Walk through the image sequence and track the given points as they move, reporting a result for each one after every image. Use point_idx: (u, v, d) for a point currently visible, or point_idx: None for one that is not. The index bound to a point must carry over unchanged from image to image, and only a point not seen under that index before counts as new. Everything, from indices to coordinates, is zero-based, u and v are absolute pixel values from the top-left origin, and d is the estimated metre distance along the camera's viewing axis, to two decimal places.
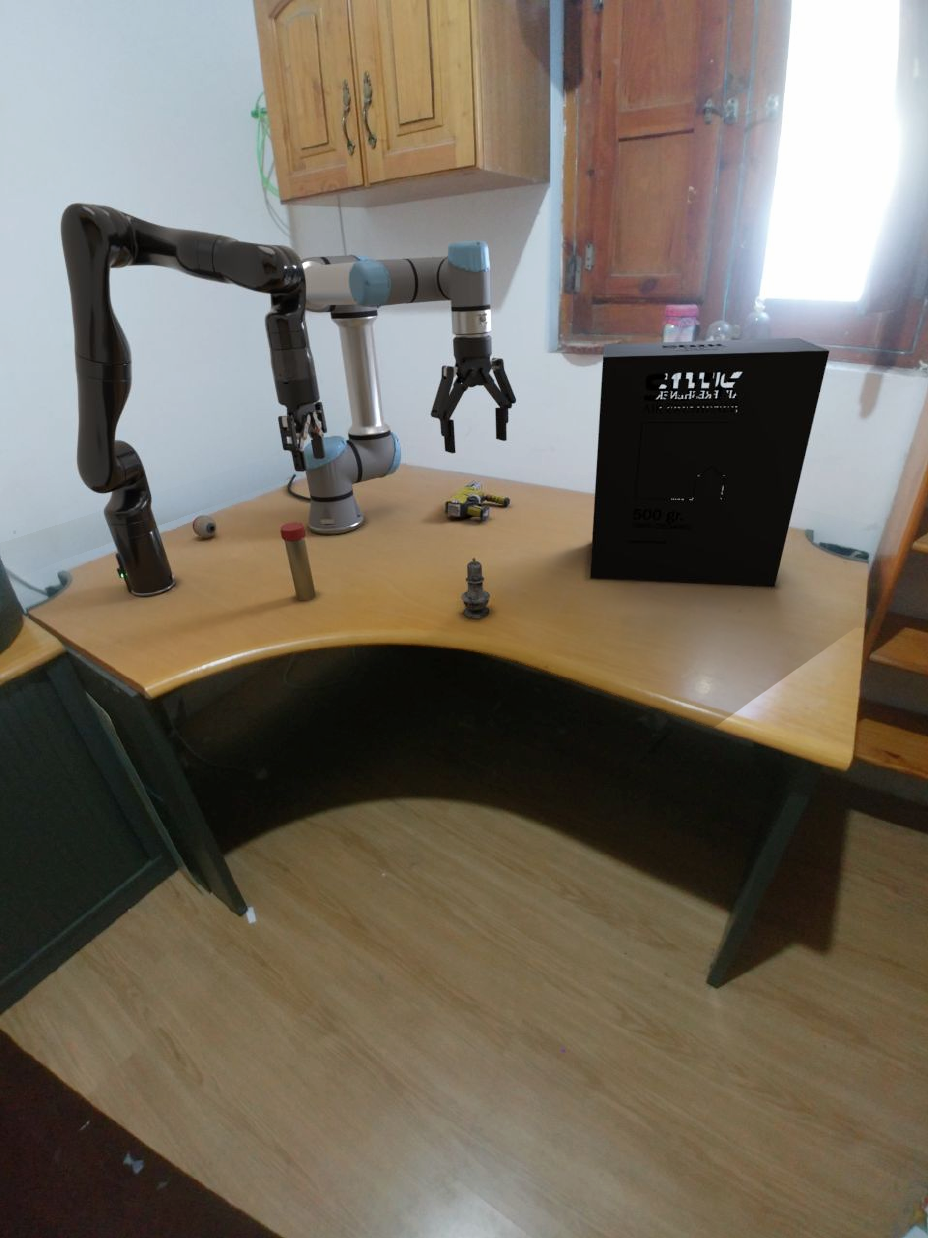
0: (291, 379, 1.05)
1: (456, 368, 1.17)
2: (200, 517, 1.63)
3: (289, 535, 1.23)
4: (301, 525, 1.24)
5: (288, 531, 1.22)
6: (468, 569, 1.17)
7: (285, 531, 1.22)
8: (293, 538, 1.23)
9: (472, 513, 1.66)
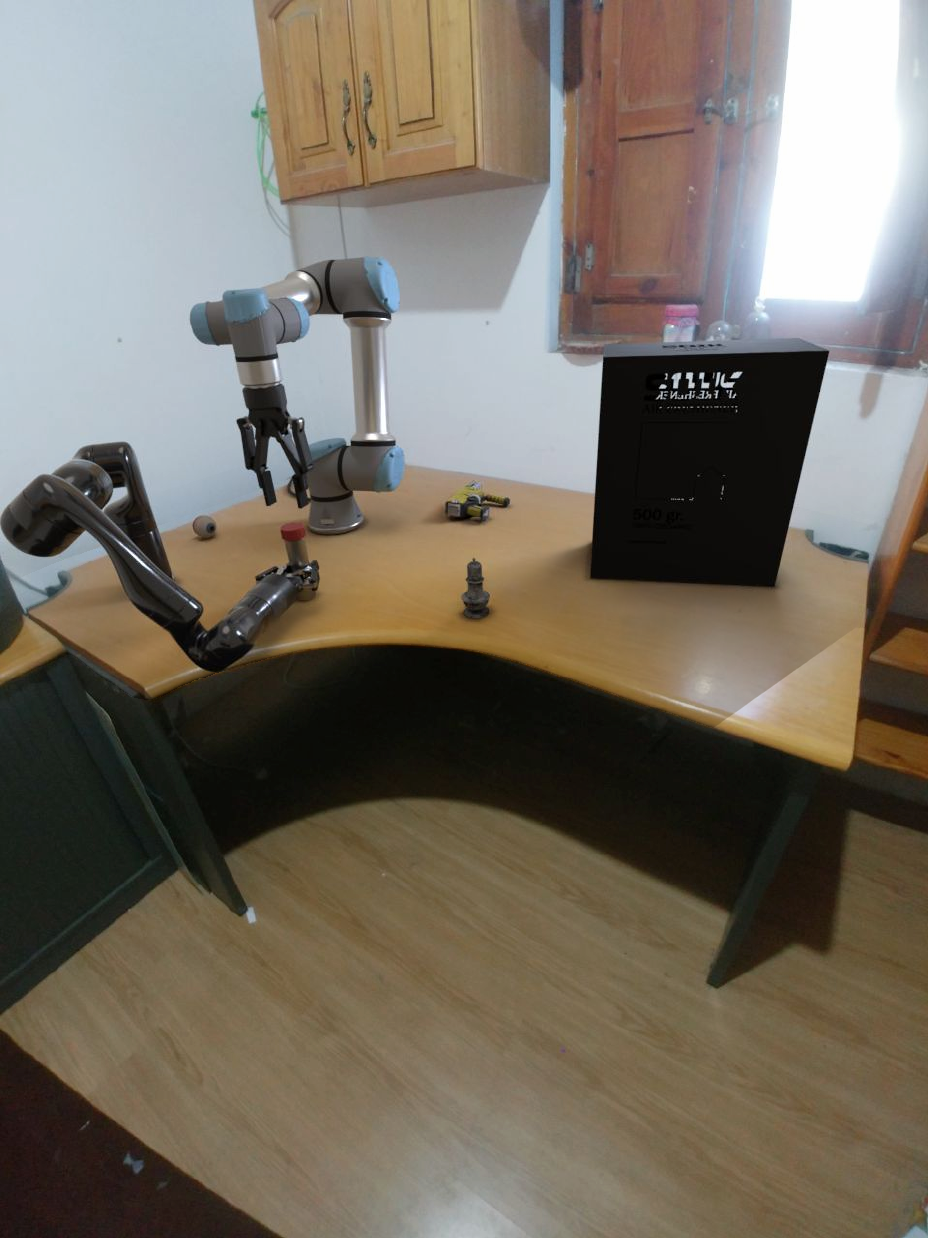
0: None
1: None
2: (200, 517, 1.63)
3: (289, 535, 1.23)
4: (301, 525, 1.24)
5: (288, 531, 1.22)
6: (468, 569, 1.17)
7: (285, 531, 1.22)
8: (293, 538, 1.23)
9: (472, 513, 1.66)
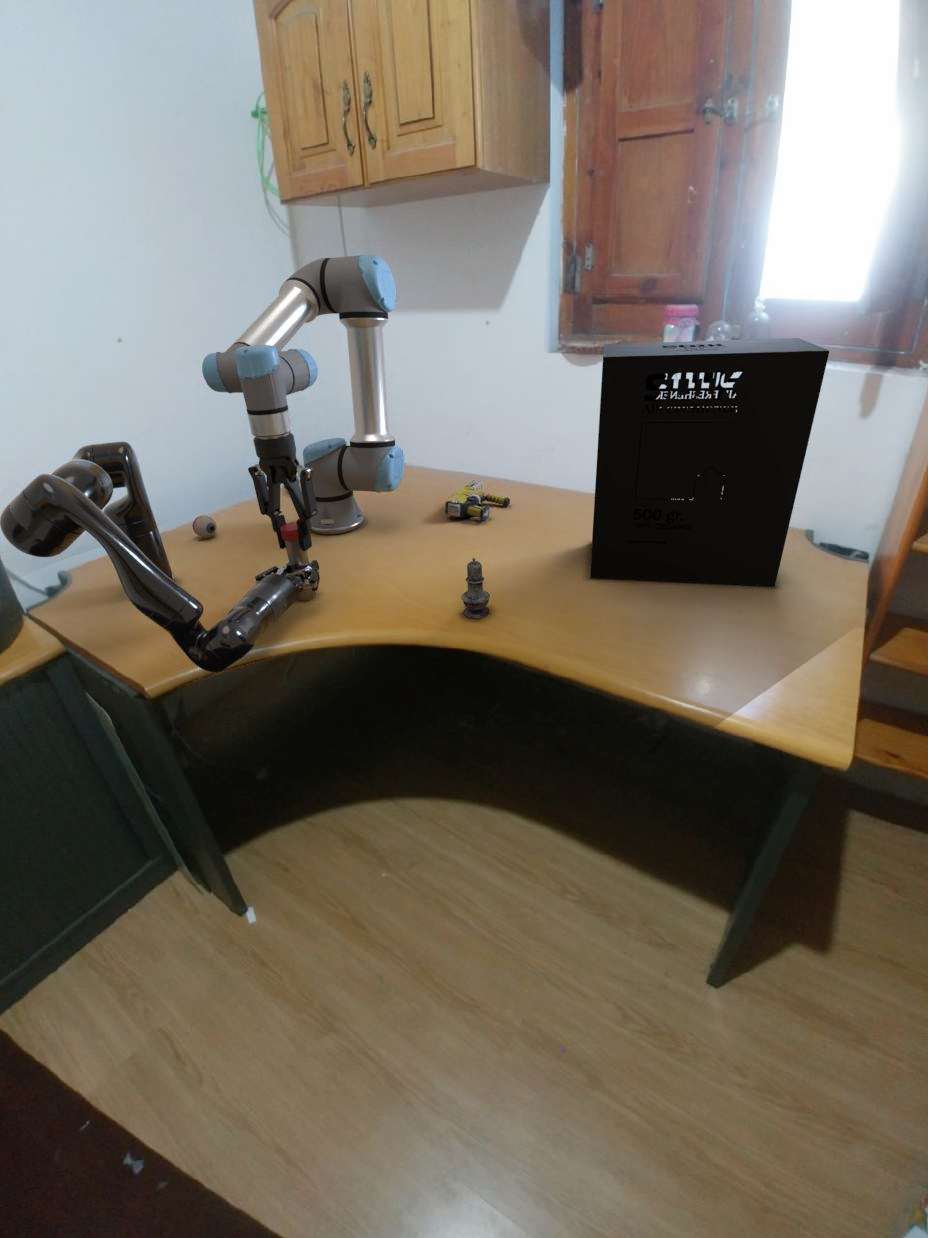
0: None
1: None
2: (200, 517, 1.63)
3: (289, 535, 1.23)
4: None
5: (288, 531, 1.22)
6: (468, 569, 1.17)
7: (285, 531, 1.22)
8: (293, 538, 1.23)
9: (472, 513, 1.66)
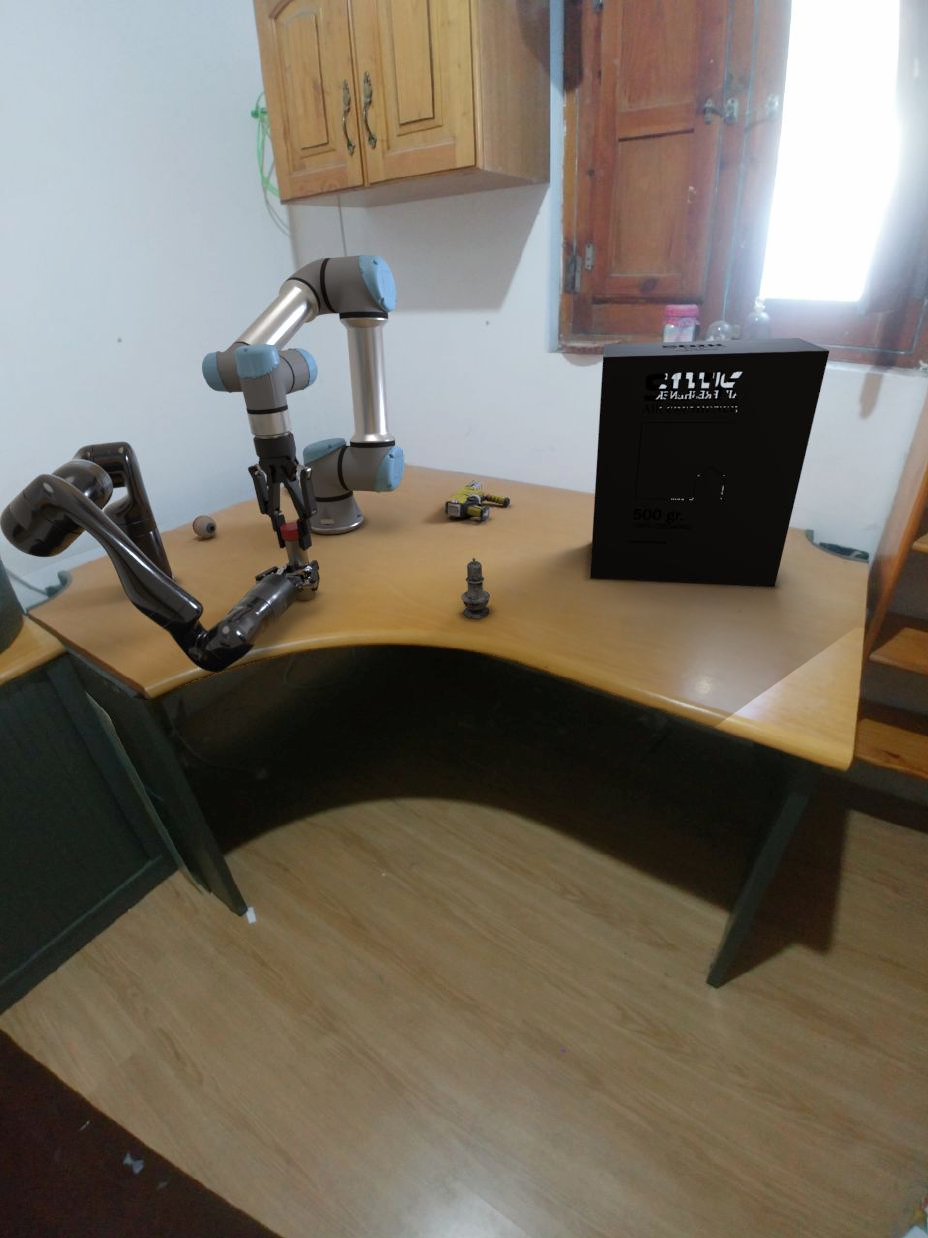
0: None
1: None
2: (200, 517, 1.63)
3: None
4: (289, 523, 1.26)
5: None
6: (468, 569, 1.17)
7: None
8: None
9: (472, 513, 1.66)
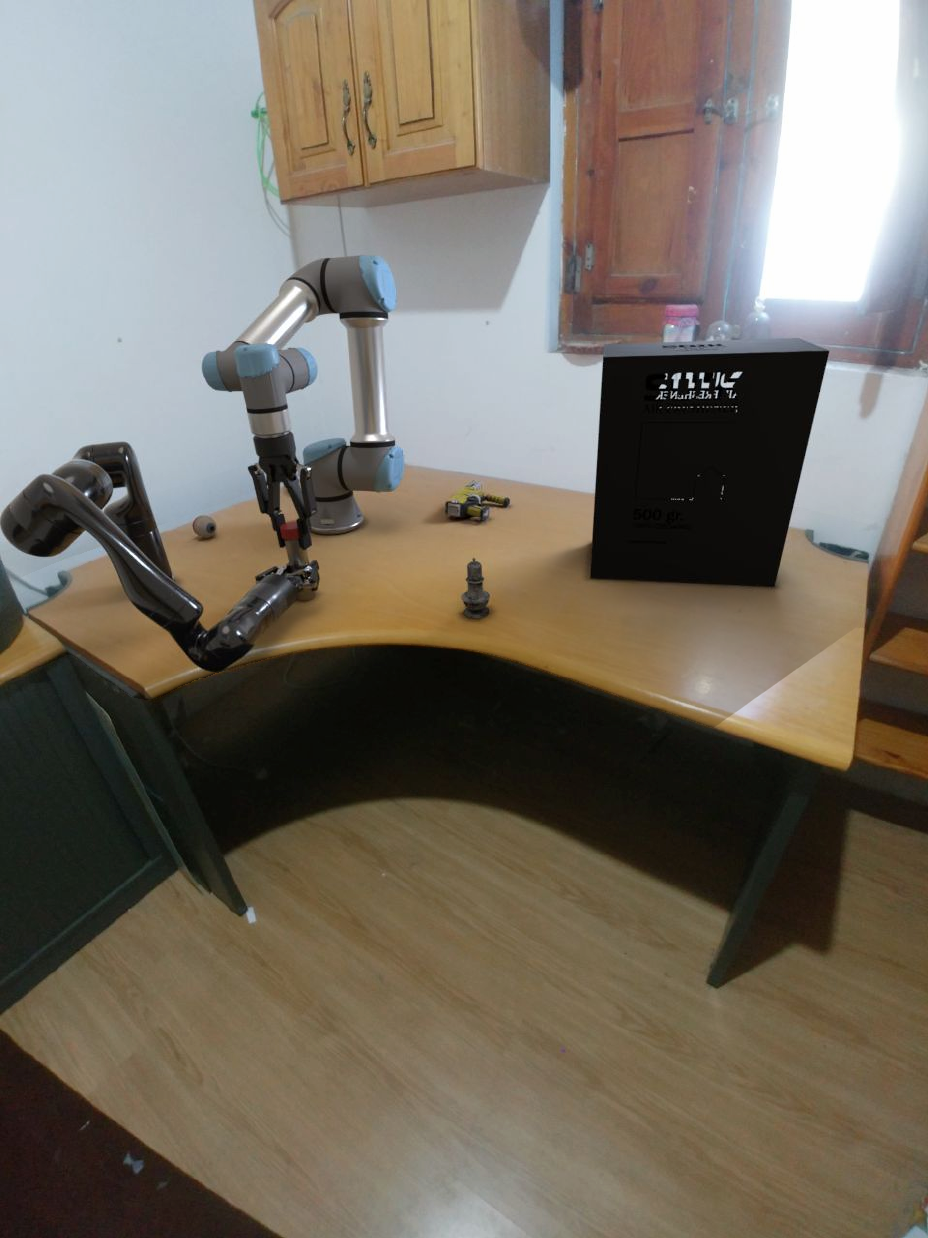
0: None
1: None
2: (200, 517, 1.63)
3: None
4: (282, 527, 1.23)
5: None
6: (468, 569, 1.17)
7: None
8: None
9: (472, 513, 1.66)
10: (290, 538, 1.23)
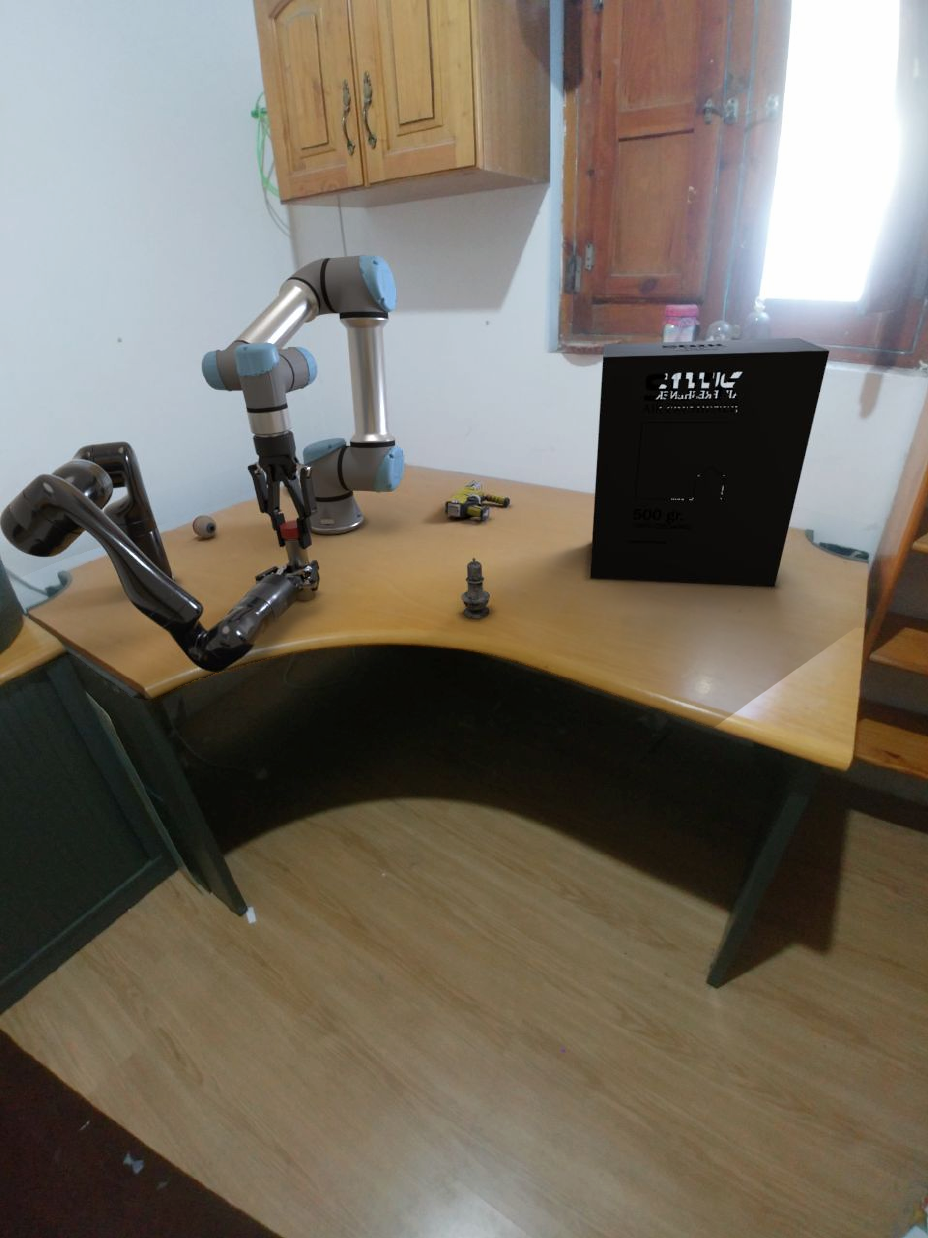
0: None
1: None
2: (200, 517, 1.63)
3: (282, 533, 1.23)
4: None
5: (281, 528, 1.23)
6: (468, 569, 1.17)
7: (280, 528, 1.23)
8: (285, 536, 1.23)
9: (472, 513, 1.66)
10: None
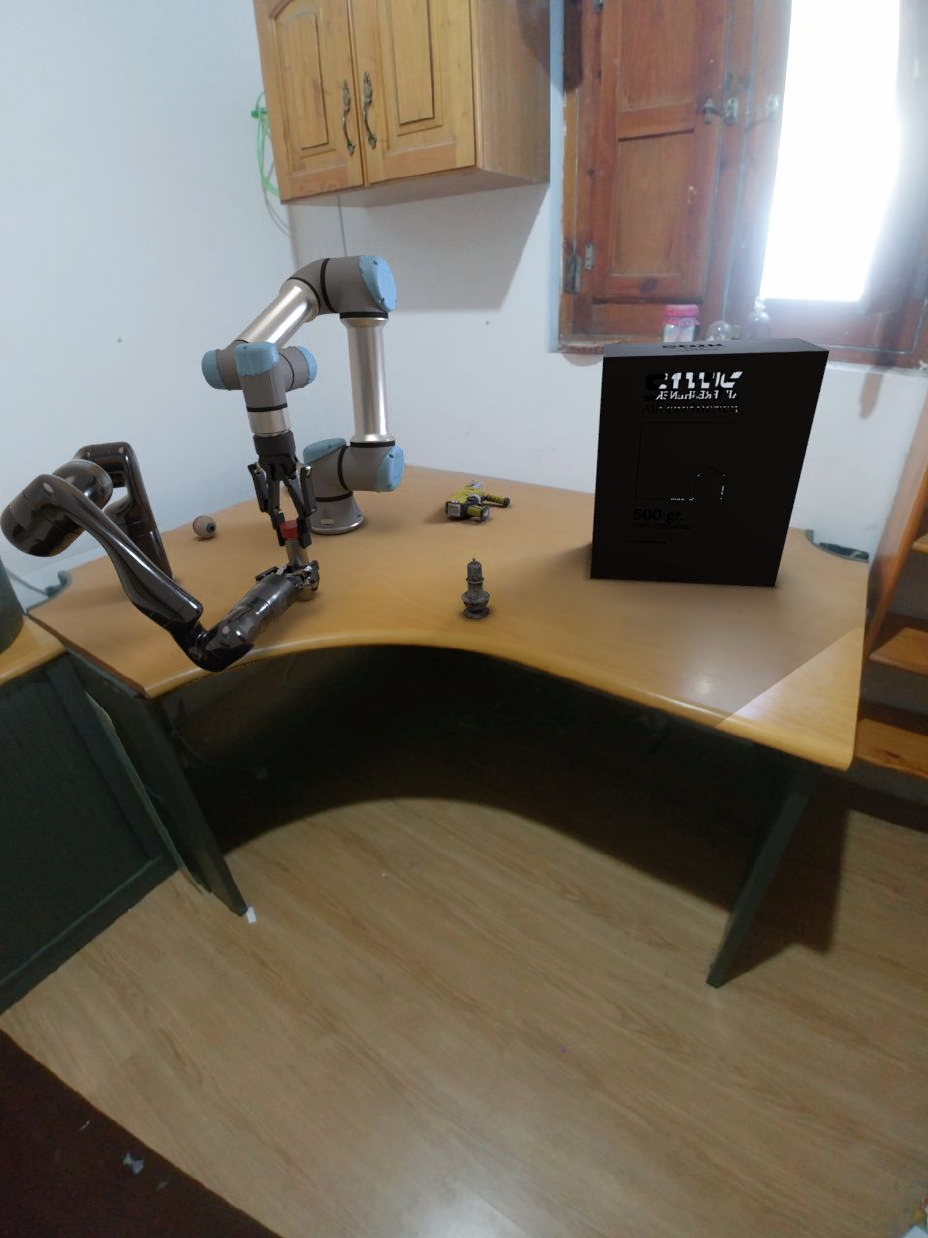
0: None
1: None
2: (200, 517, 1.63)
3: None
4: None
5: None
6: (468, 569, 1.17)
7: (297, 527, 1.22)
8: None
9: (472, 513, 1.66)
10: None
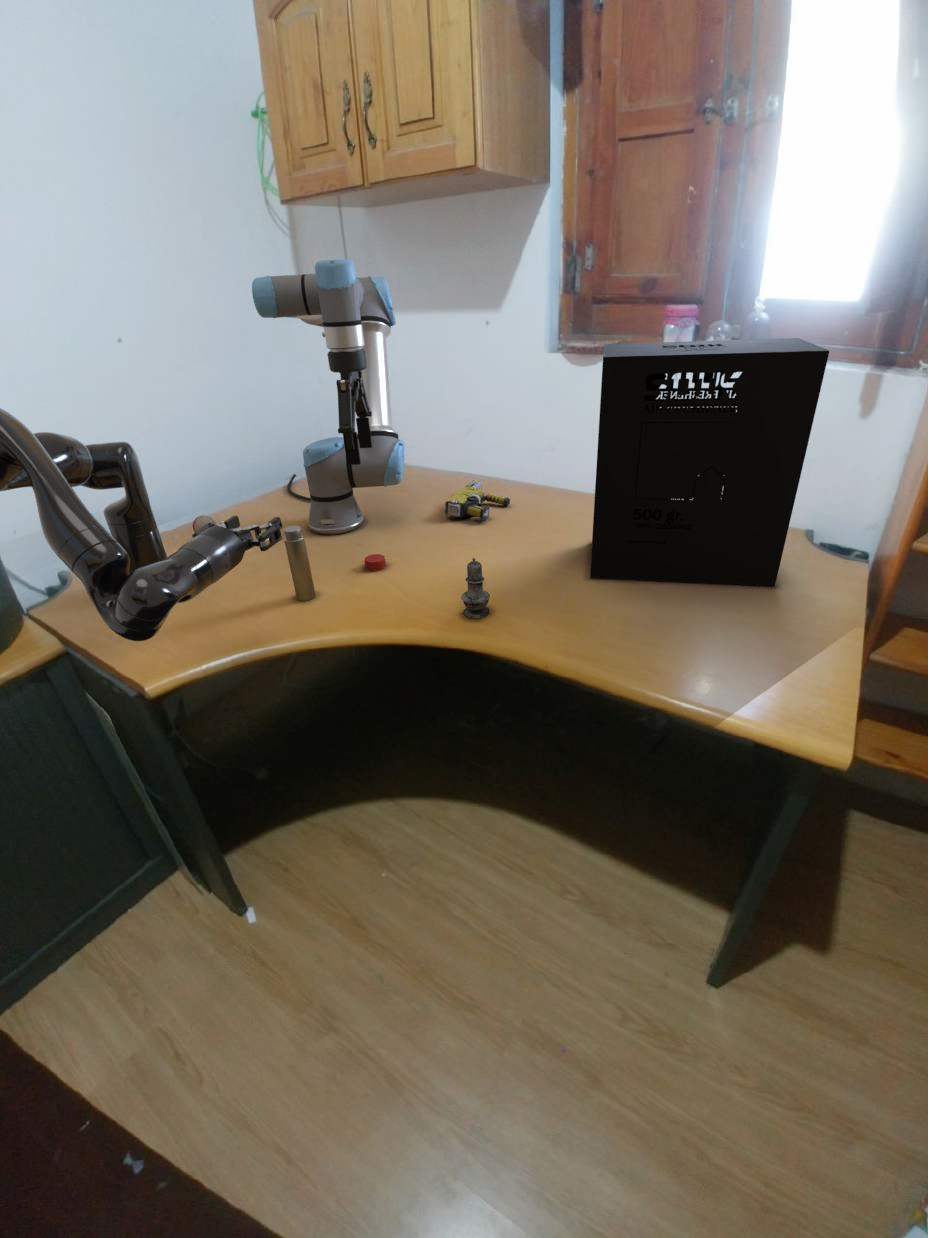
0: None
1: None
2: (200, 517, 1.63)
3: None
4: (366, 558, 1.43)
5: None
6: (468, 569, 1.17)
7: None
8: None
9: (472, 513, 1.66)
10: (368, 569, 1.42)
